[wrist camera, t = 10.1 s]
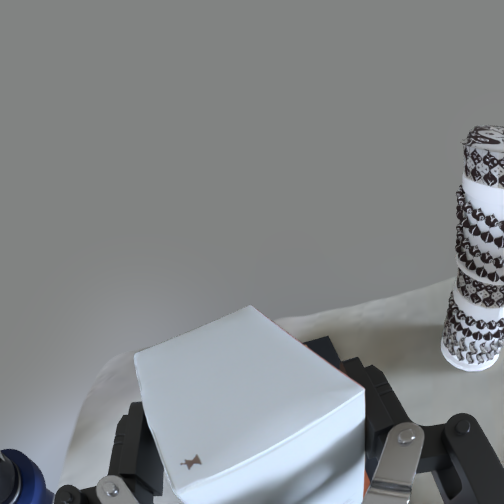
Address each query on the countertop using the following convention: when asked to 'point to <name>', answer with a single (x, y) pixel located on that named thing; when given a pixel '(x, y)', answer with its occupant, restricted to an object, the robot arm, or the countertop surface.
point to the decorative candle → (478, 256)
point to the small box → (252, 416)
